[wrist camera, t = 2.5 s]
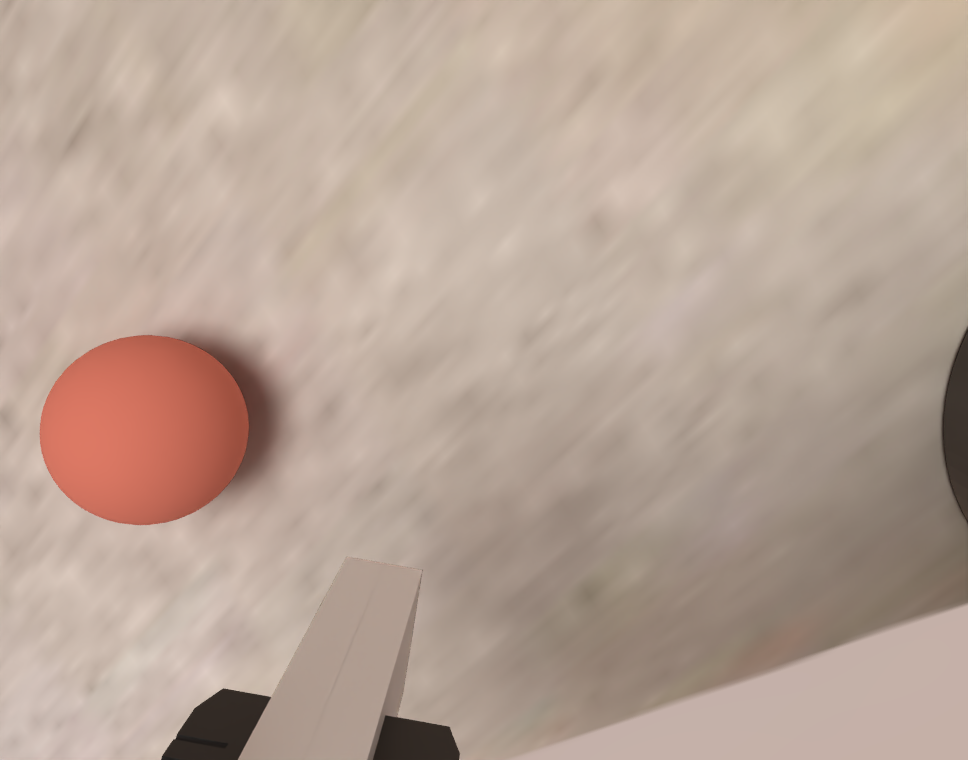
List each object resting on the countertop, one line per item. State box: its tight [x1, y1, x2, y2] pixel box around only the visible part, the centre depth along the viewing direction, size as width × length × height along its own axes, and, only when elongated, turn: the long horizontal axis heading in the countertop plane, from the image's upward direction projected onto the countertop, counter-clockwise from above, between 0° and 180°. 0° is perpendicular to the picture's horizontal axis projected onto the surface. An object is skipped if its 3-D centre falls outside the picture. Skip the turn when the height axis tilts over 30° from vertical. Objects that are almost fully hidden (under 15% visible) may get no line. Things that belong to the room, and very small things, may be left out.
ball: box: [40, 335, 249, 525], centre depth 23 cm, size 6×6×6 cm
